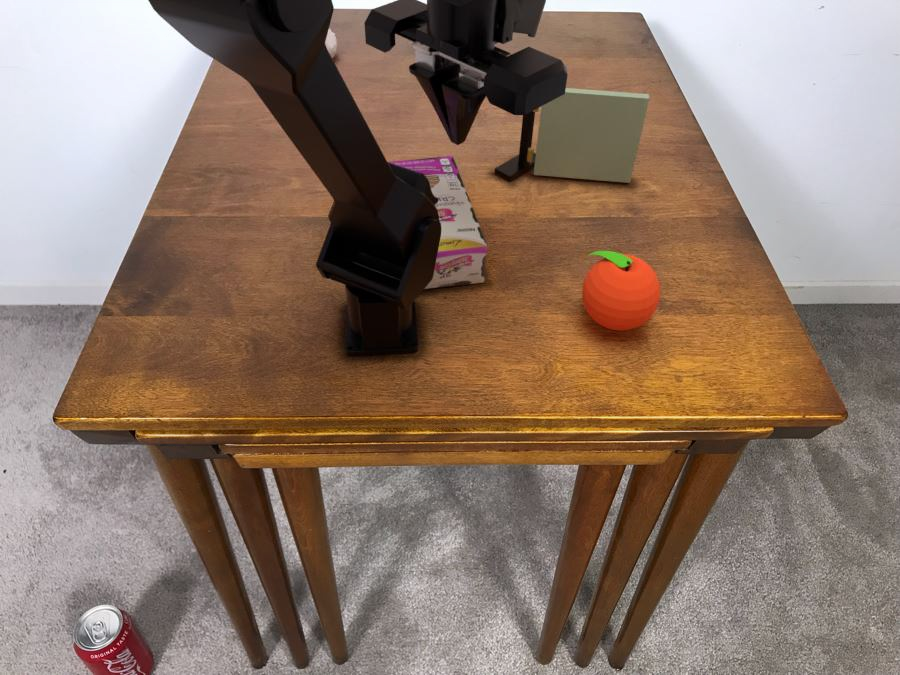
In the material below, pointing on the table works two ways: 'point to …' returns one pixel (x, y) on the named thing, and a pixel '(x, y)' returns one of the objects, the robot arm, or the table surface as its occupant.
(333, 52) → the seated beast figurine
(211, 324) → the table surface
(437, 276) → the candy bar box
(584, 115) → the door
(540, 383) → the table surface
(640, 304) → the clementine
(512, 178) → the hinge post
